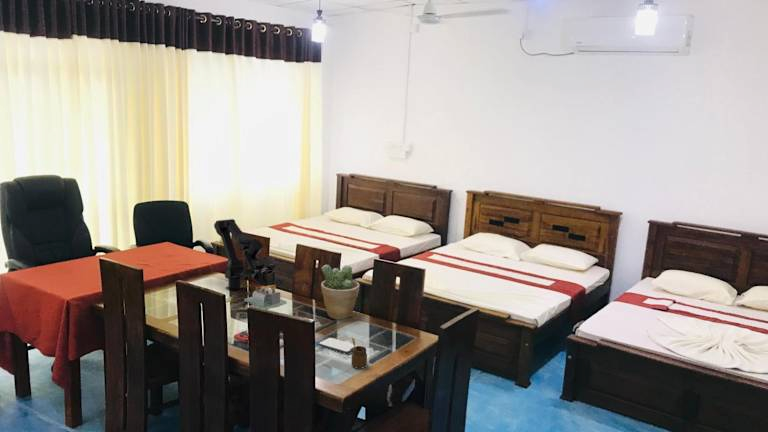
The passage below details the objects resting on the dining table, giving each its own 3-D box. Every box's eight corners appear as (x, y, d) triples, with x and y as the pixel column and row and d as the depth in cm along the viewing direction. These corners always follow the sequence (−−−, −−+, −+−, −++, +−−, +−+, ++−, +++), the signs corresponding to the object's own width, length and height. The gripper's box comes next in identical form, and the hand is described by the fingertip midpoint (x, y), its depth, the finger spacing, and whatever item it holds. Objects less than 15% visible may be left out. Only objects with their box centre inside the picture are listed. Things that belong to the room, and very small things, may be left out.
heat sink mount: (244, 301, 289) (244, 286, 287) (264, 295, 299) (264, 281, 297) (265, 309, 278) (265, 294, 277) (286, 303, 288) (286, 289, 286)
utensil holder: (369, 366, 220) (370, 337, 218) (356, 370, 216) (357, 340, 214) (361, 361, 225) (362, 332, 223) (347, 364, 221) (348, 335, 219)
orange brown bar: (258, 290, 289) (257, 287, 289) (262, 289, 291) (261, 286, 291) (272, 289, 281) (271, 285, 281) (276, 288, 283) (275, 284, 283)
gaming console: (275, 319, 261) (290, 324, 255) (276, 325, 262) (290, 329, 255) (231, 334, 243) (246, 339, 237) (232, 339, 243) (246, 344, 237)
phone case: (316, 346, 238) (347, 356, 229) (316, 343, 238) (347, 352, 229) (329, 340, 245) (360, 349, 237) (330, 336, 245) (360, 345, 236)
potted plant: (346, 306, 287) (348, 258, 282) (366, 318, 272) (368, 267, 267) (314, 312, 277) (314, 262, 272) (332, 324, 262) (333, 272, 257)
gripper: (244, 254, 280) (257, 281, 275) (274, 248, 294) (288, 274, 289) (234, 266, 286) (247, 293, 281) (264, 260, 300) (277, 285, 295)
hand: (266, 286), depth 286 cm, fingers closed, pressing on orange brown bar
